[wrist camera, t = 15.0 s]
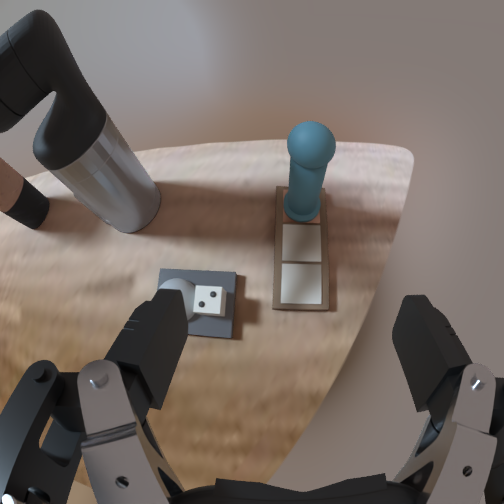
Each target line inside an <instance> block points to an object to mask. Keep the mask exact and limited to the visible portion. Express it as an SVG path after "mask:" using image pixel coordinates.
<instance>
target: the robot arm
mask: <svg viewBox="0 0 504 504" xmlns="http://www.w3.org/2000/svg"><path fill="white" fill-rule="evenodd" d="M52 91H55V92H57V93H56V96H55V99H54V102H53V104H52V106H51V108H50V110H49V112H48V113H47V115H46V117H45V118H44V120H43V122H42V123H41V125H40V127H39V128H38V131H37V133H36V135H35V138H34V142H33V153H34V155H35V157H36V159H37V160H38V161H39V162H40V163H41V164H42V165H44V167H45V168H47V169H48V170H49V171H50V172H51V173H52V174H53V175H54V176H55V177H56V178H58V179H59V180H60V181H61V182H62V183H63V184H64V185H65V186H66V187H68V188H69V189H70V190H71V191H72V192H73V193H74V197H75V198H76V199H78V200H79V201H80V202H81V203H82V204H84V205H85V206H86V207H87V208H88V209H89V210H91V211H92V212H93V213H94V214H95V215H97V216H98V217H99V218H100V219H102V220H103V221H104V222H105V223H106V224H110V225H112V226H113V227H114V228H115V229H117V230H118V231H120V232H124V233H131V232H135V231H138V230H140V229H142V228H143V227H145V226H146V225H147V224H148V223H149V222H150V221H151V220H152V219H153V218H154V216H155V215H156V213H157V211H158V209H159V206H160V199H161V198H160V192H159V190H158V188H157V186H156V185H155V184H154V182H153V181H152V179H151V178H150V176H149V175H148V173H147V172H146V170H145V169H144V167H143V166H142V165H141V163H140V162H139V160H138V159H137V157H136V156H135V154H134V153H133V151H132V150H131V148H130V147H129V145H128V144H127V142H126V141H125V139H124V138H123V136H122V135H121V134H120V132H119V130H118V129H117V127H116V126H115V124H114V123H113V121H112V120H111V118H110V117H109V115H108V114H107V112H106V111H105V109H104V108H103V106H102V105H101V103H100V102H99V100H98V99H97V97H96V96H95V94H94V93H93V91H92V90H91V88H90V87H89V85H88V83H87V82H86V80H85V79H84V77H83V75H82V73H81V71H80V69H79V67H78V65H77V63H76V61H75V59H74V57H73V55H72V53H71V51H70V49H69V47H68V45H67V43H66V41H65V39H64V37H63V35H62V33H61V31H60V29H59V27H58V25H57V24H56V22H55V20H54V19H53V18H52V17H51V16H50V15H49V14H48V13H47V12H45V11H43V10H34V11H32V12H30V13H29V14H27V15H26V16H24V17H23V18H22V19H20V20H19V21H18V22H17V23H15V24H14V25H13V26H12V27H10V28H9V30H7V31H6V32H5V33H4V34H2V35H1V36H0V133H3V132H5V131H8V130H9V129H10V128H12V127H13V126H14V125H15V124H17V123H18V122H19V121H20V120H21V119H22V118H23V117H24V116H25V115H26V114H27V113H28V112H29V111H30V110H31V109H32V108H34V107H35V106H36V105H37V104H38V103H39V102H40V101H41V100H43V99H44V98H45V97H46V96H47V95H48V94H49V93H51V92H52ZM187 336H188V320H187V315H186V310H185V305H184V299H183V294H182V292H181V290H178V289H165V288H160V289H158V291H157V292H156V294H155V296H154V297H153V299H152V300H151V301H145V302H144V303H142V304H141V305H140V306H138V307H137V308H136V309H135V310H134V312H133V313H132V315H131V316H130V318H129V321H127V322H126V324H125V326H124V329H122V330H121V332H120V334H119V335H118V337H117V338H116V340H115V342H114V343H113V345H112V346H111V348H110V350H109V351H108V353H107V355H106V356H105V358H104V359H103V360H96V361H93V362H90V363H88V364H87V365H86V366H84V367H83V368H82V370H81V371H80V372H59V371H58V369H57V368H56V366H55V365H54V363H52V362H51V361H48V360H41V361H37V362H35V363H34V364H32V365H31V366H30V367H29V368H28V369H27V370H26V372H25V373H24V375H23V377H22V378H21V380H20V381H19V383H18V385H17V386H16V388H15V390H14V391H13V393H12V395H11V397H10V398H9V400H8V402H7V404H6V405H5V407H4V409H3V411H2V413H1V415H0V504H66V503H67V499H68V496H69V492H70V490H71V486H72V483H73V480H74V477H75V474H76V471H77V468H78V465H79V462H80V459H81V457H82V455H83V459H84V463H85V466H86V470H87V473H88V476H89V480H90V483H91V486H92V489H93V492H94V495H95V497H96V500H97V503H98V504H479V502H480V500H481V497H482V494H483V492H484V493H485V501H486V504H504V378H495V377H494V375H493V373H492V372H491V371H490V370H489V369H488V368H487V367H486V366H484V365H482V364H478V363H472V361H471V359H470V357H469V355H468V354H467V352H466V350H465V348H464V346H463V345H462V343H461V341H460V340H459V338H458V336H457V335H456V333H455V331H454V329H453V328H452V327H451V325H450V323H449V321H448V320H447V318H446V317H445V316H444V315H443V314H442V313H441V312H440V311H439V310H438V309H436V308H434V307H433V306H432V304H431V303H430V301H429V300H428V298H427V297H426V296H425V295H407V296H405V297H404V299H403V301H402V305H401V307H400V310H399V313H398V316H397V319H396V321H395V324H394V327H393V331H392V340H393V344H394V346H395V349H396V352H397V354H398V357H399V360H400V363H401V365H402V368H403V371H404V374H405V377H406V379H407V382H408V385H409V388H410V391H411V394H412V397H413V401H414V404H415V407H416V410H417V412H421V411H425V410H429V412H430V415H429V416H428V418H427V420H426V422H425V424H424V427H423V429H422V431H421V434H420V436H419V439H418V441H417V443H416V445H415V447H414V449H413V451H412V453H411V455H410V457H409V459H408V461H407V463H406V464H405V465H404V467H403V468H402V469H401V470H400V471H399V472H398V474H397V475H396V477H395V478H394V480H393V481H386V476H385V473H383V474H378V475H372V476H367V477H361V478H354V479H347V480H344V481H341V482H338V483H335V484H332V485H329V486H326V487H322V488H319V489H315V490H312V491H308V492H298V491H293V490H289V489H284V488H280V487H275V486H271V485H267V484H263V483H260V482H246V481H235V480H226V479H218V478H216V483H215V485H210V486H203V487H198V488H194V489H190V490H187V491H185V490H184V488H183V486H182V484H181V483H180V481H179V479H178V478H177V476H176V474H175V473H174V471H173V470H172V468H171V467H170V465H169V464H168V462H167V460H166V458H165V456H164V454H163V452H162V450H161V448H160V446H159V444H158V441H157V439H156V437H155V435H154V432H153V430H152V428H151V426H150V423H149V421H148V418H147V417H146V415H147V413H148V410H149V408H154V409H158V410H161V408H162V405H163V402H164V399H165V396H166V394H167V391H168V388H169V385H170V383H171V380H172V377H173V374H174V372H175V369H176V366H177V364H178V361H179V358H180V356H181V353H182V350H183V348H184V345H185V342H186V340H187ZM50 416H51V417H52V418H53V422H52V424H51V426H50V428H49V430H48V433H47V435H46V437H45V439H44V442H43V444H42V446H41V448H39V439H40V437H41V434H42V432H43V430H44V428H45V426H46V423H47V421H48V419H49V417H50Z"/></svg>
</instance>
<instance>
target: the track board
mask: <svg viewBox="0 0 504 504" xmlns="http://www.w3.org/2000/svg"><path fill="white" fill-rule="evenodd" d="M288 188H289V187H279V186H276V225H275V256H274V283H273V305H272V309H278V310H329V261H328V233H327V214H326V198H325V188H321V192H320V195H319V198H320V202H321V206H320V210H319V213H318V215H317V216H316V217H315V218H314V219H313V220H311V221H309V222H296V221H294V220H292V219H290V218H289V217H288V216H287V215H286V213H285V211H284V207H283V204H284V197H285V195H286V193H287V192H288Z"/></svg>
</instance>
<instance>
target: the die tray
mask: <svg viewBox="0 0 504 504" xmlns="http://www.w3.org/2000/svg"><path fill="white" fill-rule="evenodd" d="M236 280H237V274H236V272H222V271H199V270H179V269H161V268H160V274H159V281H158V289H160V288H165V289H178V290H181V292H182V294H183V299H184V305H185V310H186V315H187V320H188V334H192V335H202V336H213V337H224V338H232V336H233V321H234V307H235V293H236ZM158 289H157V291H158Z"/></svg>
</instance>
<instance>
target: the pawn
mask: <svg viewBox="0 0 504 504" xmlns="http://www.w3.org/2000/svg"><path fill="white" fill-rule="evenodd" d="M287 148H288V152H289V154H290V156H291V159H290V174H289V188H288V192H287V193H286V195H285V197H284V204H283V207H284V211H285V213H286V215H287V216H288V217H289V218H290V219H292V220H294V221H296V222H309V221H311V220H313V219H314V218H315V217H316V216H317V215H318V213H319V210H320V206H321V202H320V198H319V195H320V192H321V188H322V184H323V180H324V176H325V172H326V168H327V164H328V162H329V161H330V160H331V159H332V158H333V156H334V153H335V149H336V142H335V138H334V136H333V134H332V132H331V131H330V130H329V129H328V128H327V127H326V126H324V125H322V124H321V123H318V122H314V121H307V122H303V123H300V124H298V125H297V126H295V127H294V128H293V130H292V131H291V132H290V134H289V136H288V140H287Z"/></svg>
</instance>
